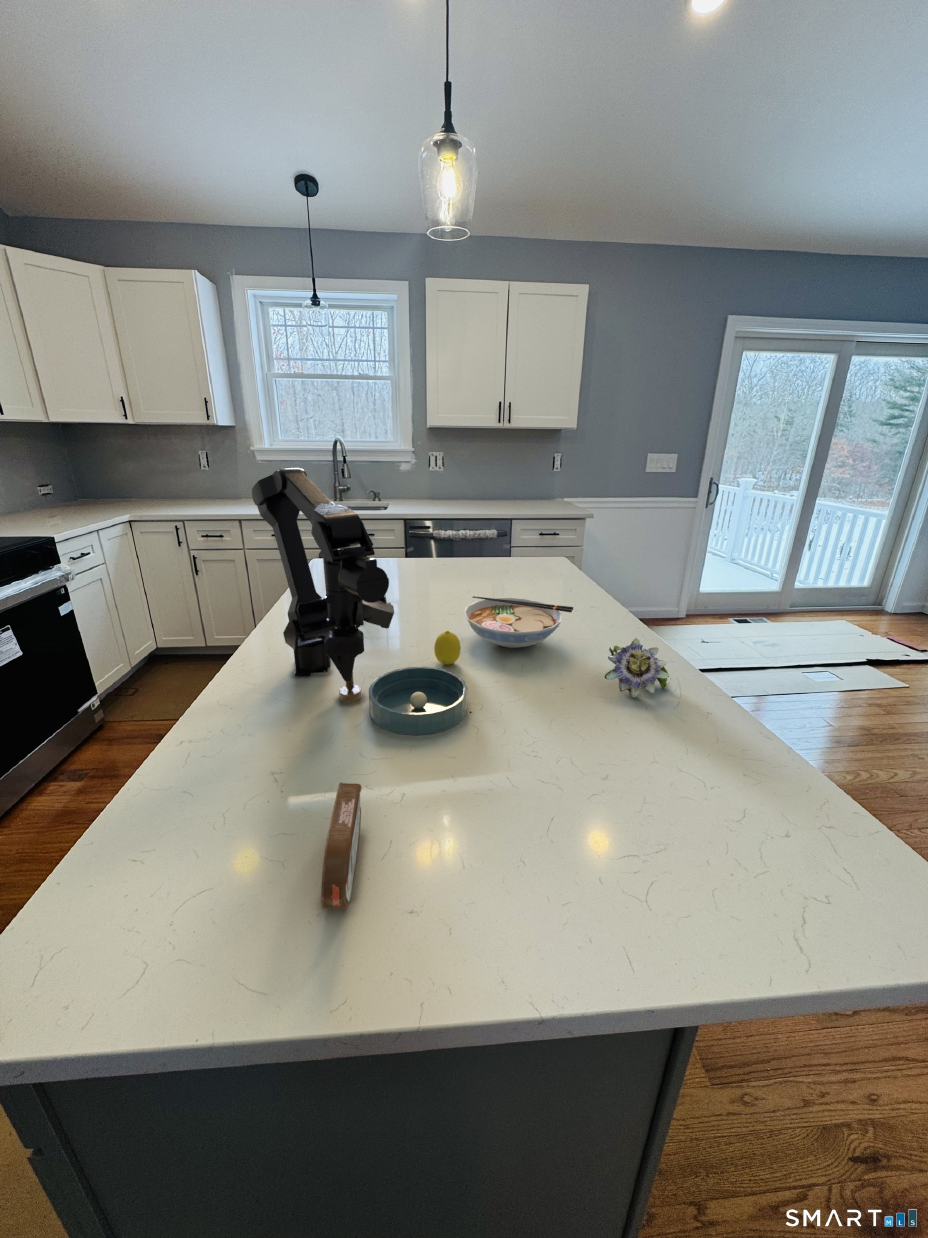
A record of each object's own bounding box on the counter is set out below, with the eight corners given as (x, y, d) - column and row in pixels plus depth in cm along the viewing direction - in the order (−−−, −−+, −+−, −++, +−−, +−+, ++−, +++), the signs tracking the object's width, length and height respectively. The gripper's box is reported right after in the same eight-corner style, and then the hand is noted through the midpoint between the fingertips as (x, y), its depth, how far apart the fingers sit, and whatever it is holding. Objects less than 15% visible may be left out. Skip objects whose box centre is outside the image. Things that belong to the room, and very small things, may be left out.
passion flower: (629, 720, 99) (603, 680, 94) (616, 684, 108) (591, 646, 103) (685, 695, 96) (660, 652, 91) (666, 661, 105) (642, 620, 100)
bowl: (371, 743, 82) (369, 718, 80) (369, 691, 97) (367, 670, 96) (475, 733, 85) (476, 709, 83) (457, 684, 100) (457, 663, 99)
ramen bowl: (443, 651, 115) (443, 617, 112) (478, 618, 135) (479, 589, 132) (552, 672, 106) (555, 636, 103) (572, 633, 126) (576, 602, 123)
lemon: (457, 672, 105) (457, 637, 102) (431, 670, 106) (431, 634, 103) (462, 661, 110) (463, 627, 107) (437, 658, 111) (437, 625, 108)
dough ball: (411, 712, 89) (410, 697, 88) (409, 704, 92) (409, 689, 91) (427, 711, 90) (427, 696, 89) (425, 702, 92) (425, 688, 91)
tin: (341, 821, 65) (337, 767, 62) (366, 820, 66) (363, 766, 63) (321, 929, 52) (313, 867, 48) (352, 927, 52) (347, 865, 49)
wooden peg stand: (339, 705, 92) (335, 650, 88) (340, 694, 96) (335, 641, 92) (361, 703, 93) (358, 649, 89) (361, 693, 96) (358, 640, 93)
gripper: (393, 602, 79) (396, 690, 85) (387, 570, 96) (390, 645, 102) (320, 606, 77) (328, 695, 83) (327, 572, 94) (333, 648, 100)
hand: (348, 669), depth 92 cm, fingers open, 9 cm apart
